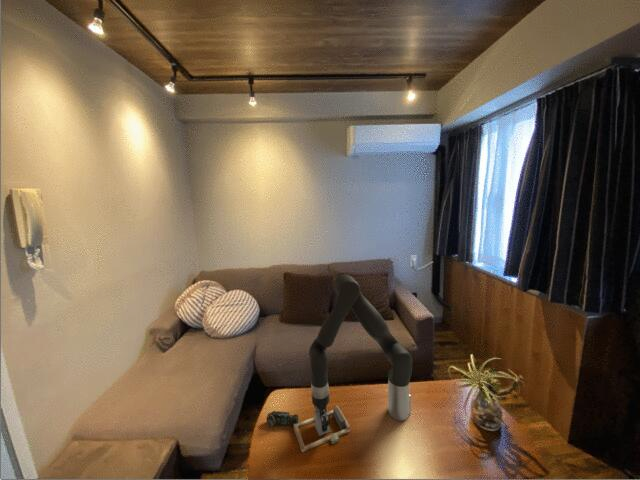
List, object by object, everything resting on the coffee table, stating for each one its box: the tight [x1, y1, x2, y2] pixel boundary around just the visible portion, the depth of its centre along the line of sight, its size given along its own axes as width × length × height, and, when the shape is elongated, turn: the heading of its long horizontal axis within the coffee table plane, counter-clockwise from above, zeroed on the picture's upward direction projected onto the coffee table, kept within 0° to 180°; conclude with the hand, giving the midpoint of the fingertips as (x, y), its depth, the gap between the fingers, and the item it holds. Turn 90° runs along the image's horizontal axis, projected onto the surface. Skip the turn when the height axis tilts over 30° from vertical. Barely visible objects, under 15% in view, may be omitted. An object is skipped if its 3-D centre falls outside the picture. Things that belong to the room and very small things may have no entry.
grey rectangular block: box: [313, 410, 331, 437], centre depth 111 cm, size 5×5×8 cm
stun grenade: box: [266, 410, 299, 431], centre depth 114 cm, size 6×6×14 cm
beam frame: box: [292, 405, 351, 453], centre depth 111 cm, size 22×16×4 cm
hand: (322, 425), depth 111 cm, fingers closed on grey rectangular block, 5 cm apart
